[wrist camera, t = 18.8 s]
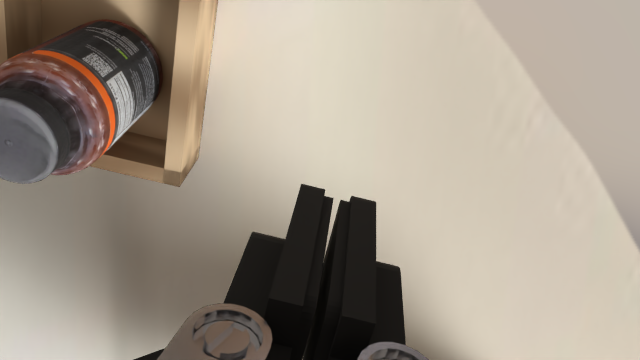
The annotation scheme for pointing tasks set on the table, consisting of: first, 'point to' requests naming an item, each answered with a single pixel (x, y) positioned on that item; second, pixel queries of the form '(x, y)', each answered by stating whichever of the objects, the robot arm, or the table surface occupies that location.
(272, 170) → the table surface
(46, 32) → the caddy
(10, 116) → the supplement bottle
